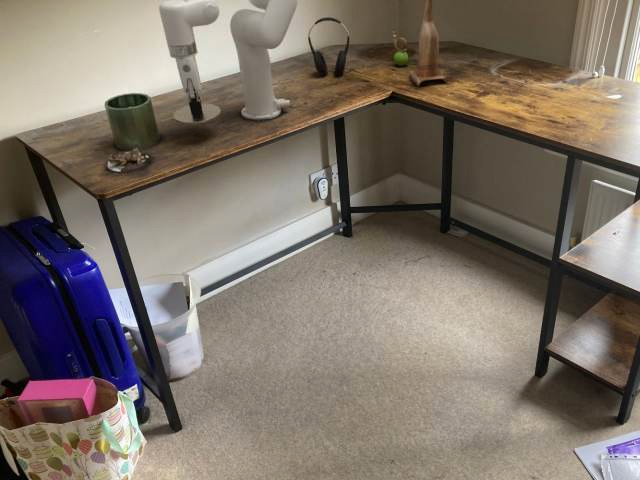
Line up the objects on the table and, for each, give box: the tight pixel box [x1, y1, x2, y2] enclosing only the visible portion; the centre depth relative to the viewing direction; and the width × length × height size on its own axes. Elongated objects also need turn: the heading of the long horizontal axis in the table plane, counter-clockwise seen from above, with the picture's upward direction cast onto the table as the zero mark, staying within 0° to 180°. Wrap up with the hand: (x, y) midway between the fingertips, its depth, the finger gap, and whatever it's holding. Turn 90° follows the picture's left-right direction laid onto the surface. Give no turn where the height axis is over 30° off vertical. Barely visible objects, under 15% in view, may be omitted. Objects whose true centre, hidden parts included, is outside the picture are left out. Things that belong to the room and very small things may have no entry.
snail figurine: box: [391, 30, 409, 67], centre depth 242 cm, size 5×6×12 cm
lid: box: [173, 103, 222, 125], centre depth 189 cm, size 14×14×6 cm
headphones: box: [307, 16, 350, 76], centre depth 232 cm, size 9×15×20 cm, turn 91°
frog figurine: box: [107, 148, 149, 173], centre depth 181 cm, size 12×12×4 cm
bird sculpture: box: [408, 0, 449, 87], centre depth 222 cm, size 11×12×32 cm
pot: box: [103, 92, 161, 151], centre depth 190 cm, size 13×13×12 cm
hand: (196, 111), depth 190 cm, fingers closed on lid, 2 cm apart
